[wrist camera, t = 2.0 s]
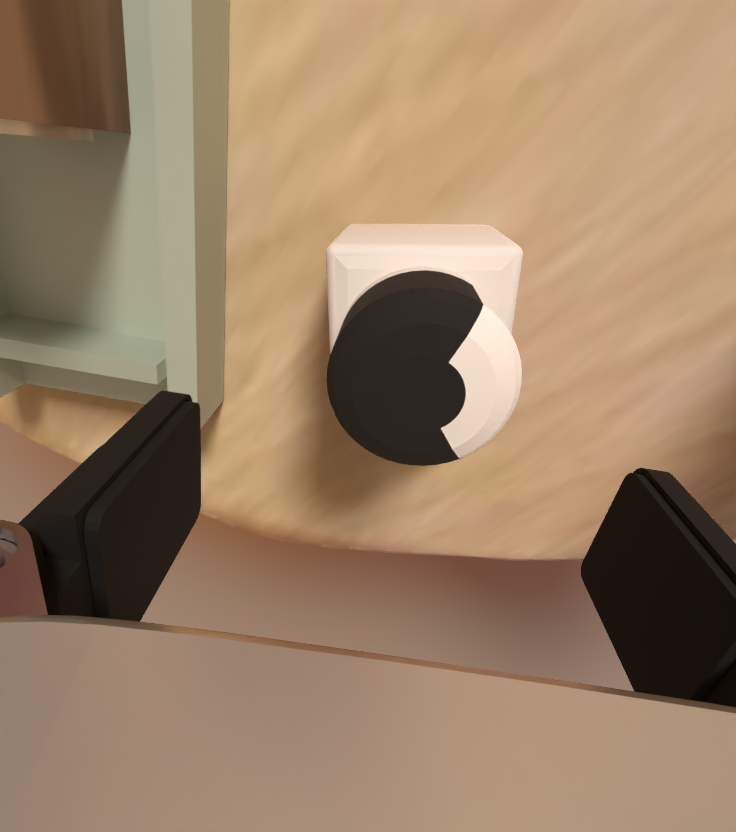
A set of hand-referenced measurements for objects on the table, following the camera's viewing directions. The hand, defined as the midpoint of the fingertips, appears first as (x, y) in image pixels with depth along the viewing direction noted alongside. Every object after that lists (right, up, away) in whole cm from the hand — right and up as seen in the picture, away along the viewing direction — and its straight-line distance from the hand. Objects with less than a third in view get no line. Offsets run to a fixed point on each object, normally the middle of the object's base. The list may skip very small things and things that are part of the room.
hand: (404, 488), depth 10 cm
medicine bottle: (+2, +8, +14) cm, 17 cm away
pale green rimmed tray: (-14, +12, +13) cm, 23 cm away
